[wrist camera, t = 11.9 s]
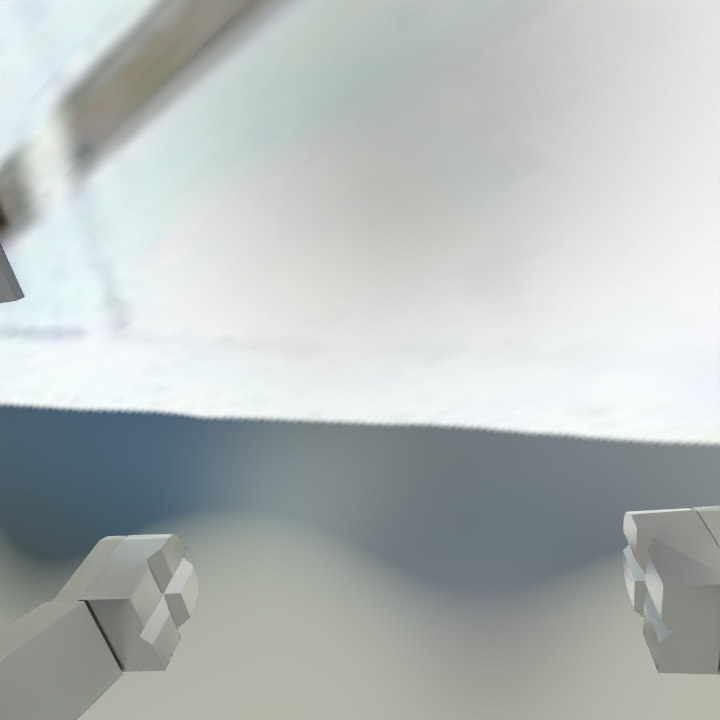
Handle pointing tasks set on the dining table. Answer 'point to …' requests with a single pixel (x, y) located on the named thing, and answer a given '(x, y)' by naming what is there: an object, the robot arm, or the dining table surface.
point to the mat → (8, 281)
